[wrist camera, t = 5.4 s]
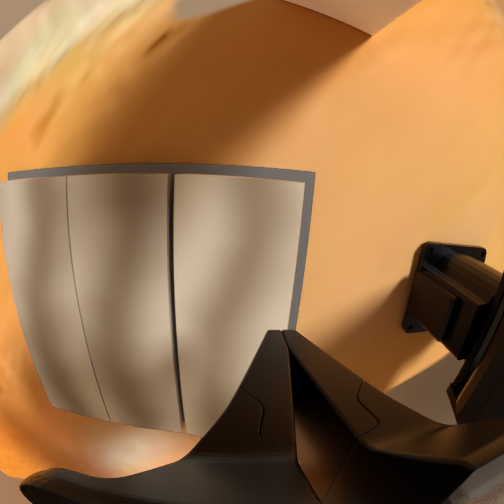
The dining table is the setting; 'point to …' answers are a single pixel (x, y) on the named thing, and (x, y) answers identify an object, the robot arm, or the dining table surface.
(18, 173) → the underlay mat
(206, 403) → the loose plank
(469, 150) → the dining table surface
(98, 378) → the laid planks
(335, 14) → the milk
